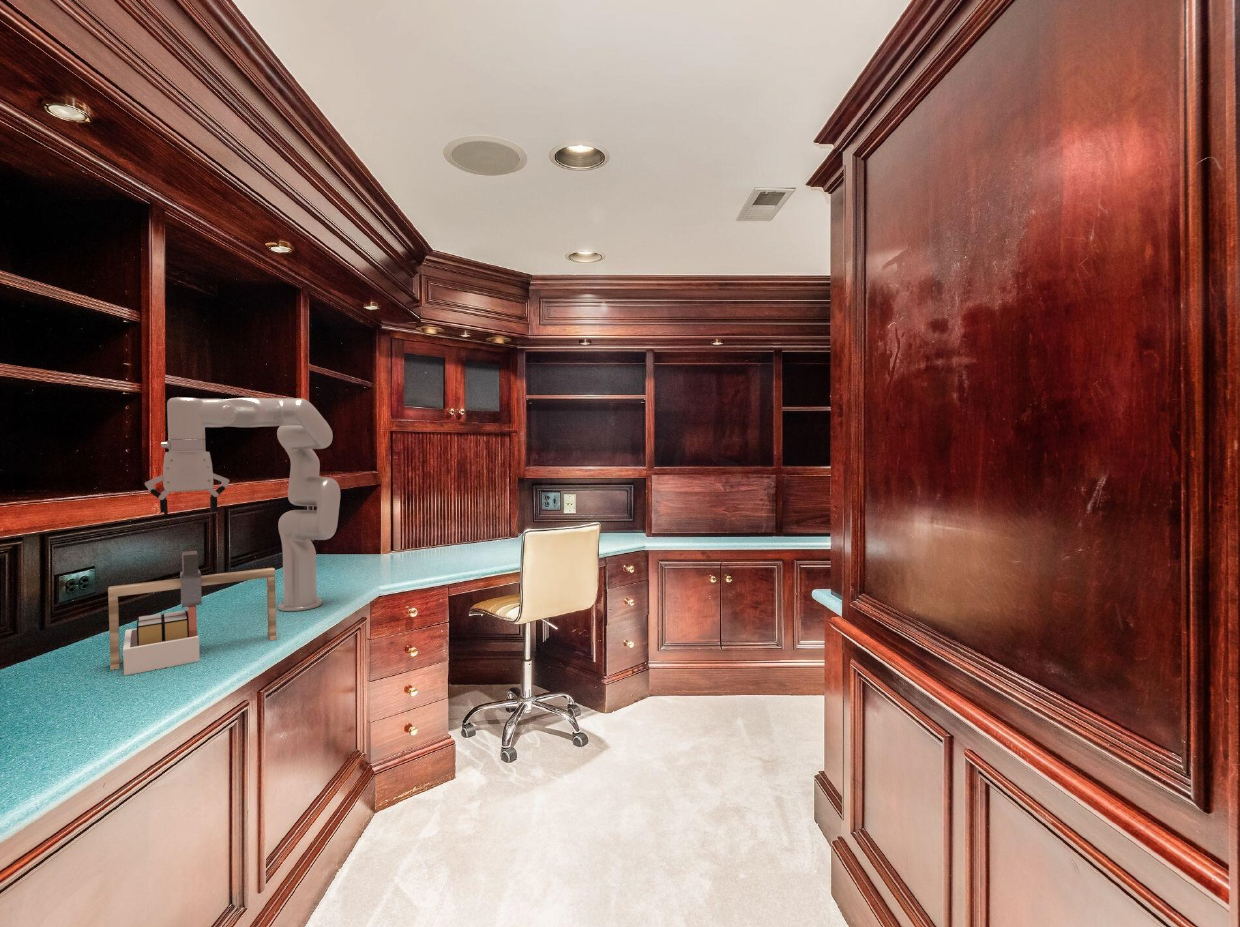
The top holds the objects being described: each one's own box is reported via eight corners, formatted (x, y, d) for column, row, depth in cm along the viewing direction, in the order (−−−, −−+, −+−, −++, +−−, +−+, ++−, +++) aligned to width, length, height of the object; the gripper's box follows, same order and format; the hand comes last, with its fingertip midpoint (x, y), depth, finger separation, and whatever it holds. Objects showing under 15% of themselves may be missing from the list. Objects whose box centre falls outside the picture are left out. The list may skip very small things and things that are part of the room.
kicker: (182, 642, 152) (179, 551, 152) (200, 639, 155) (198, 549, 154) (183, 652, 145) (180, 556, 144) (203, 648, 148) (200, 554, 147)
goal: (126, 653, 149) (125, 629, 149) (195, 641, 158) (194, 619, 158) (124, 675, 135) (123, 649, 135) (199, 661, 144) (199, 636, 143)
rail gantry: (111, 662, 143) (109, 585, 142) (273, 633, 164) (272, 566, 163) (110, 670, 138) (107, 590, 137) (277, 639, 159) (275, 570, 159)
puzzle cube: (138, 656, 147) (137, 616, 147) (187, 647, 154) (186, 609, 153) (137, 667, 140) (136, 626, 139) (189, 658, 146) (188, 618, 146)
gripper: (143, 447, 140) (146, 518, 141) (229, 446, 151) (231, 512, 152) (143, 446, 146) (146, 514, 147) (226, 446, 157) (228, 509, 158)
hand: (189, 513), depth 149 cm, fingers open, 9 cm apart
